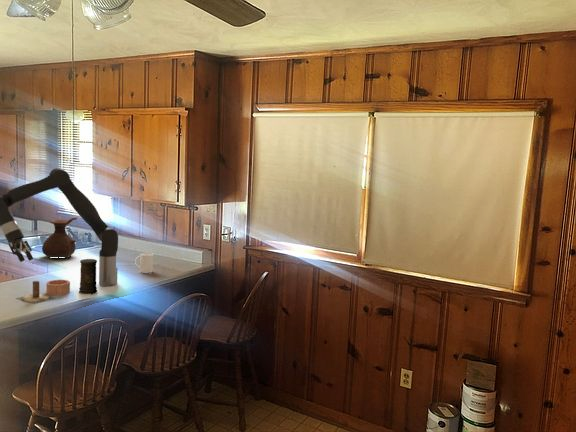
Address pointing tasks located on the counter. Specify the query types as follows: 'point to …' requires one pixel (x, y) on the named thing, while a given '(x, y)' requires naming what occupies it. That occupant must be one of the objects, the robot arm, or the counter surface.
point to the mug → (145, 262)
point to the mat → (37, 302)
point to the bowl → (58, 287)
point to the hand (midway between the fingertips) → (27, 260)
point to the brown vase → (59, 240)
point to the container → (88, 276)
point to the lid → (35, 294)
